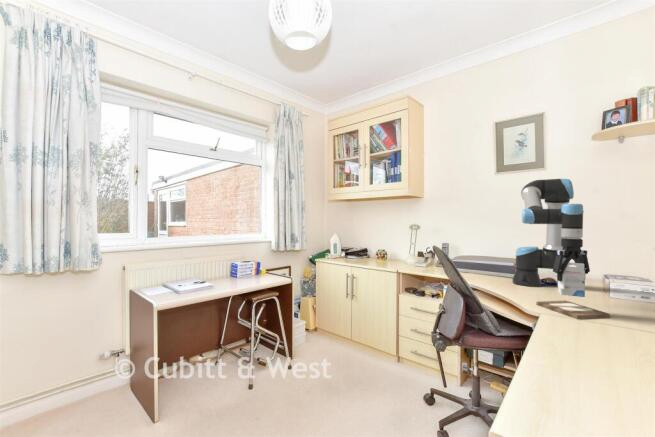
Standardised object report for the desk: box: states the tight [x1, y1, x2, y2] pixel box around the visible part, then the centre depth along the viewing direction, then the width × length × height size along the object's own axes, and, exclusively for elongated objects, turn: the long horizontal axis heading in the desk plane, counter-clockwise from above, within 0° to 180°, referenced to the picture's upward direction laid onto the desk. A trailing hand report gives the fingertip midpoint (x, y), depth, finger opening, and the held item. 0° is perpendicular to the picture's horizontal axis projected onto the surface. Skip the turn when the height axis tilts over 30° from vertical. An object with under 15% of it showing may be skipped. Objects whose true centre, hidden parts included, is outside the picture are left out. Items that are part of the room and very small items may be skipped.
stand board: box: [535, 299, 611, 320], centre depth 135 cm, size 20×16×2 cm
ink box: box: [558, 262, 586, 298], centre depth 135 cm, size 9×5×15 cm, turn 62°
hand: (571, 288), depth 135 cm, fingers closed on ink box, 9 cm apart
